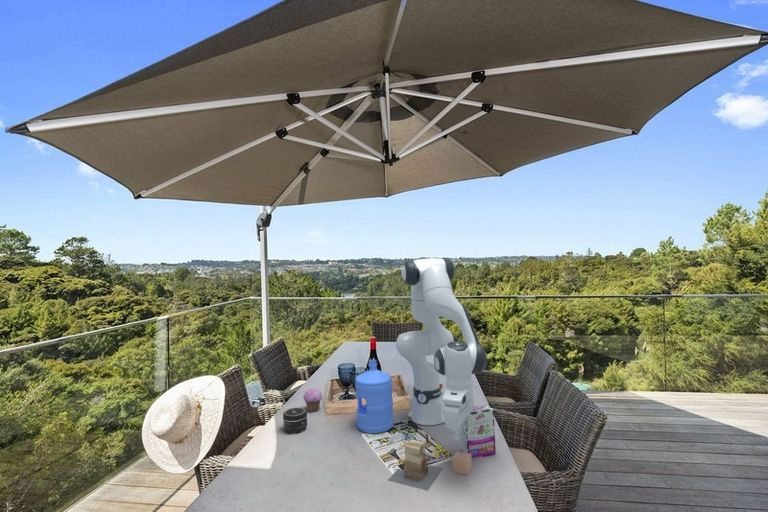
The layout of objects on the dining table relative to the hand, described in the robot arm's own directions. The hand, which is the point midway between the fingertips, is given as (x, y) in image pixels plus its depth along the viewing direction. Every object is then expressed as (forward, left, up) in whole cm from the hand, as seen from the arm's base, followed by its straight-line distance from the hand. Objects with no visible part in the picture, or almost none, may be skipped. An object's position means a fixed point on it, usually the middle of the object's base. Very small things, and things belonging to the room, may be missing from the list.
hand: (461, 432), depth 138 cm
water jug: (-19, -44, -13) cm, 50 cm away
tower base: (+9, -13, -13) cm, 20 cm away
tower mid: (+9, -13, -7) cm, 17 cm away
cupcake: (-23, -80, -13) cm, 85 cm away
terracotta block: (0, 0, -13) cm, 13 cm away
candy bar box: (-13, +2, -13) cm, 19 cm away
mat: (+9, -13, -13) cm, 20 cm away
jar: (-3, -74, -13) cm, 75 cm away
